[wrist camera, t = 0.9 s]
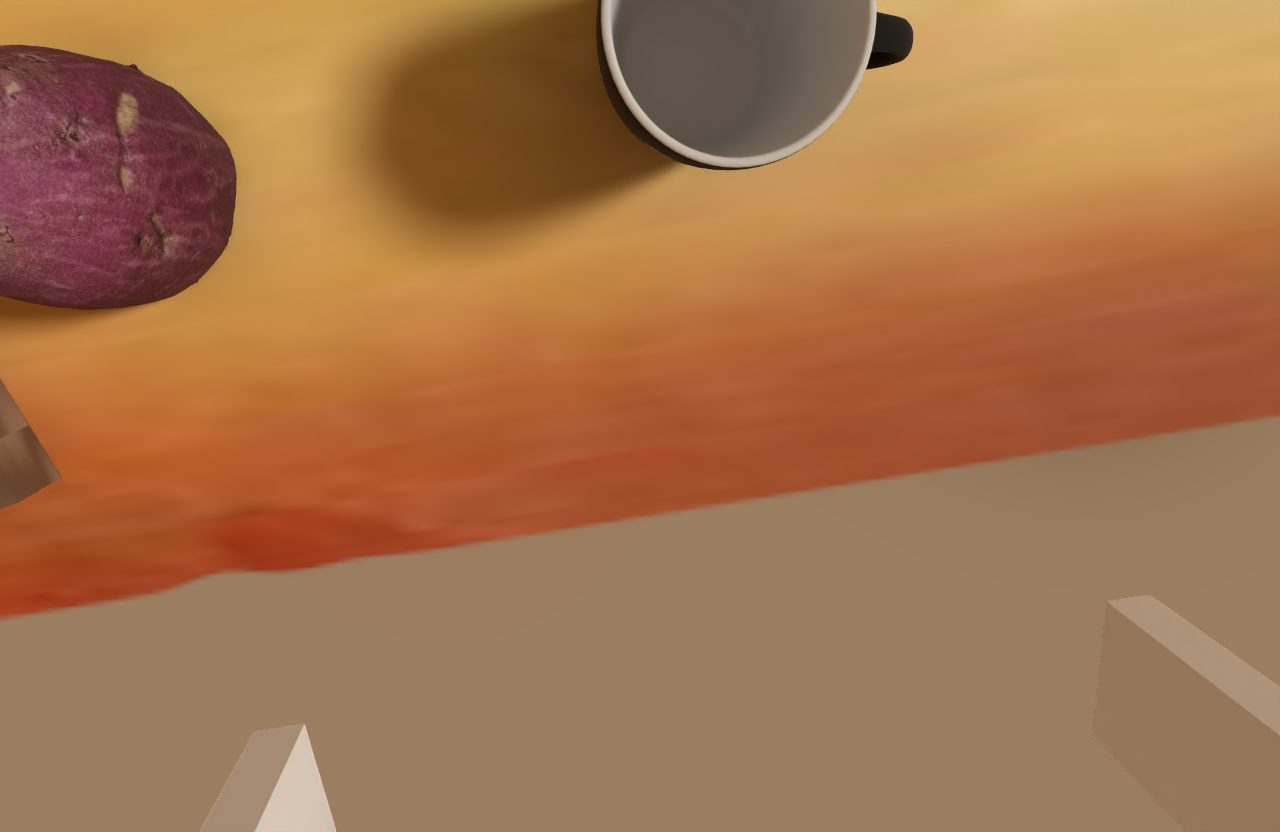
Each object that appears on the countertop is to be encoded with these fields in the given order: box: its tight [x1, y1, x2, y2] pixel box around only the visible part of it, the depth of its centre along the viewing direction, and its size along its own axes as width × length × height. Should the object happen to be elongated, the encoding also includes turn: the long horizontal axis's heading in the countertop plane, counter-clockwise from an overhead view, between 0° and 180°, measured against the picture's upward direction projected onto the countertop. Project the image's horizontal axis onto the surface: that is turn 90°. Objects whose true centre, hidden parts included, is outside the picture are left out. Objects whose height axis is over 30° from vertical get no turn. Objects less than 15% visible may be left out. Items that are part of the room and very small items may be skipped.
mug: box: [596, 0, 913, 170], centre depth 28 cm, size 12×9×10 cm
